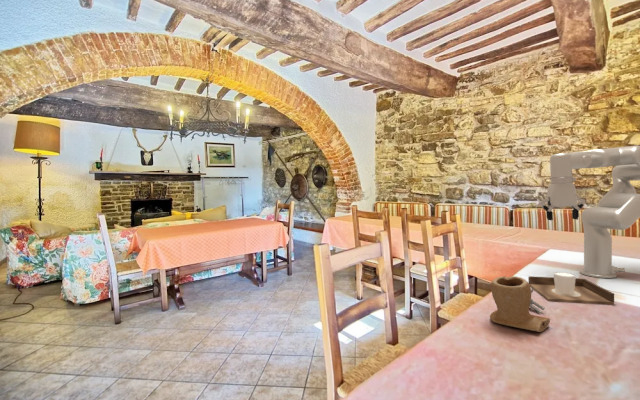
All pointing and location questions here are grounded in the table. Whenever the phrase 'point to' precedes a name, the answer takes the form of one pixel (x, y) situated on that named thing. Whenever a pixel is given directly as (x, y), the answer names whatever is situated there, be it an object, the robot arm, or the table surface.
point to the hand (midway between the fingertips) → (562, 219)
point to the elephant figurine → (536, 305)
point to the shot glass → (564, 283)
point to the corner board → (582, 291)
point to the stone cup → (515, 304)
